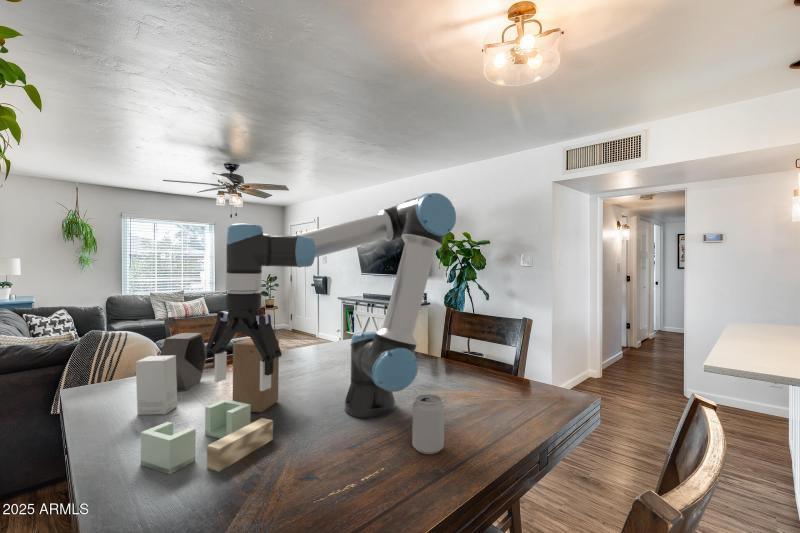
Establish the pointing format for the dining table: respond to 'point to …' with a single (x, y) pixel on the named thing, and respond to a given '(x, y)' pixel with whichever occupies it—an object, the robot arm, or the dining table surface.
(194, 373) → the planter
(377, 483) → the dining table surface
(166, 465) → the end caps
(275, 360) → the wooden block
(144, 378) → the skincare box
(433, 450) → the can
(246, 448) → the slat
